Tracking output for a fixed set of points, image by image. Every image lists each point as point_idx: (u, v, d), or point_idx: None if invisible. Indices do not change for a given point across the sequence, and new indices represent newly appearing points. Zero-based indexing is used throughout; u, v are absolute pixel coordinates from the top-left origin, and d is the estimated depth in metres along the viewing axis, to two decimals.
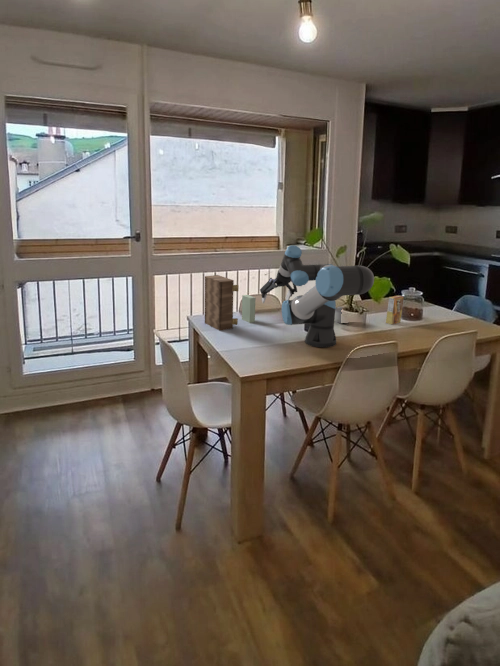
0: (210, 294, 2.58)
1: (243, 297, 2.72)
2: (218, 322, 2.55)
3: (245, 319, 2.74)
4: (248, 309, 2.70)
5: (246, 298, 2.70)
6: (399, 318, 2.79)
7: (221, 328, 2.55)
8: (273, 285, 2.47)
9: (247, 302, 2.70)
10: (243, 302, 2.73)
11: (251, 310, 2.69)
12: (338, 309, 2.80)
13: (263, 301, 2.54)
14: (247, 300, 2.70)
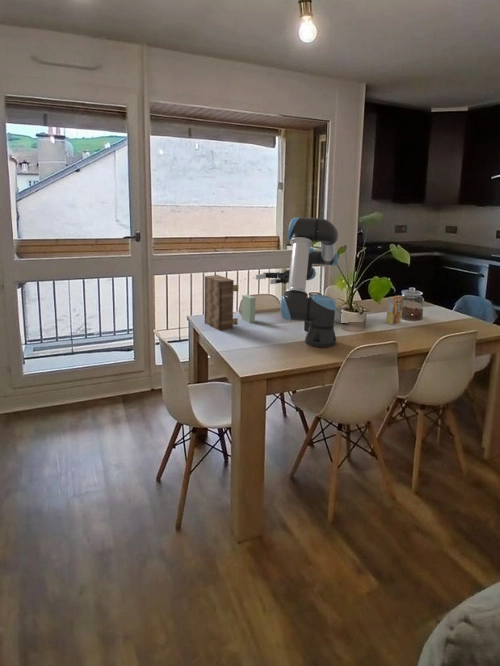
0: (210, 294, 2.58)
1: (243, 297, 2.72)
2: (218, 322, 2.55)
3: (245, 319, 2.74)
4: (248, 308, 2.70)
5: (246, 298, 2.70)
6: (399, 318, 2.79)
7: (221, 328, 2.55)
8: None
9: (247, 302, 2.70)
10: (243, 302, 2.73)
11: (251, 310, 2.69)
12: (338, 309, 2.80)
13: (257, 274, 2.79)
14: (247, 300, 2.70)
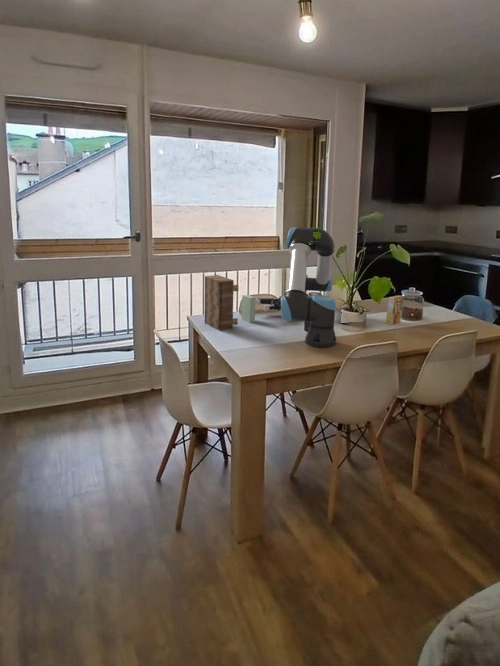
0: (210, 294, 2.58)
1: (243, 297, 2.72)
2: (218, 322, 2.55)
3: (245, 319, 2.74)
4: (248, 308, 2.70)
5: (246, 298, 2.70)
6: (399, 318, 2.79)
7: (221, 328, 2.55)
8: None
9: (247, 302, 2.70)
10: (243, 302, 2.73)
11: (251, 310, 2.69)
12: (338, 309, 2.80)
13: None
14: (247, 300, 2.70)
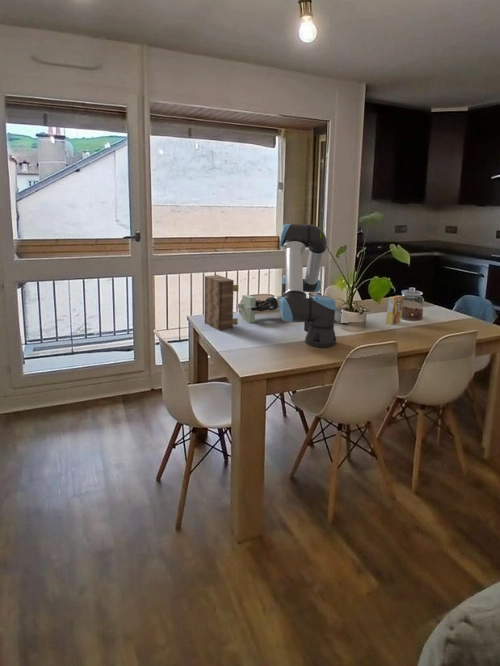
0: (210, 294, 2.58)
1: (243, 297, 2.72)
2: (218, 322, 2.55)
3: (245, 319, 2.74)
4: None
5: (246, 298, 2.70)
6: (399, 318, 2.79)
7: (221, 328, 2.55)
8: None
9: (247, 302, 2.70)
10: (243, 302, 2.73)
11: None
12: (338, 309, 2.80)
13: (238, 303, 2.74)
14: (247, 300, 2.70)
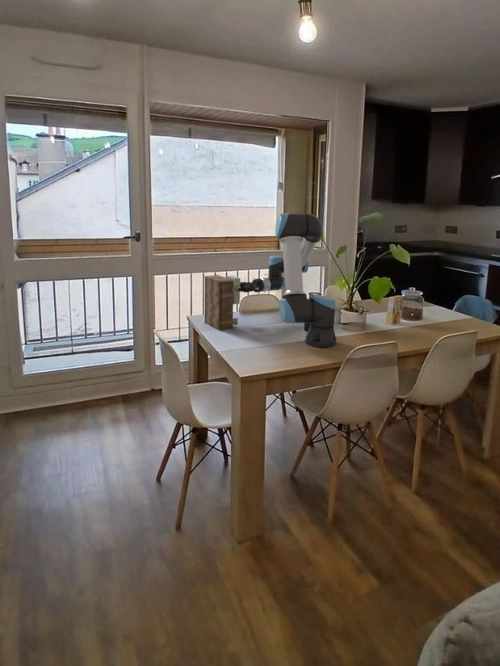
0: (210, 294, 2.58)
1: (228, 278, 2.63)
2: (218, 322, 2.55)
3: None
4: None
5: None
6: (399, 318, 2.79)
7: (221, 328, 2.55)
8: None
9: None
10: None
11: None
12: (338, 309, 2.80)
13: None
14: None
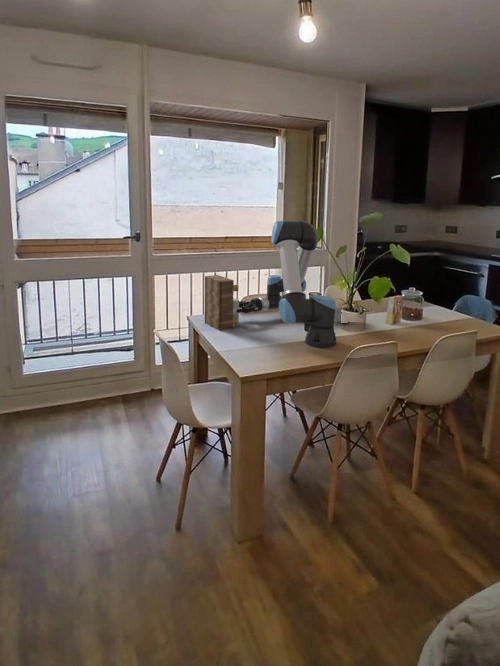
0: (210, 294, 2.58)
1: None
2: (218, 322, 2.55)
3: None
4: None
5: None
6: (399, 318, 2.79)
7: (221, 328, 2.55)
8: None
9: None
10: None
11: None
12: (338, 309, 2.80)
13: None
14: None
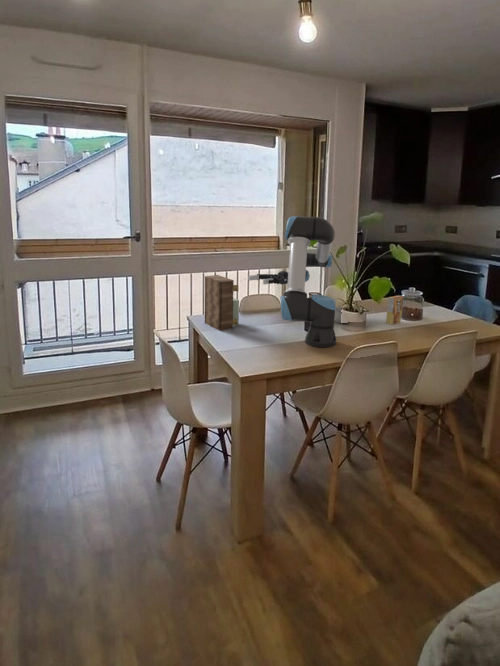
0: (210, 294, 2.58)
1: None
2: (218, 322, 2.55)
3: None
4: None
5: None
6: (399, 318, 2.79)
7: (221, 328, 2.55)
8: None
9: None
10: None
11: (234, 313, 2.62)
12: (338, 309, 2.80)
13: (250, 275, 2.76)
14: None
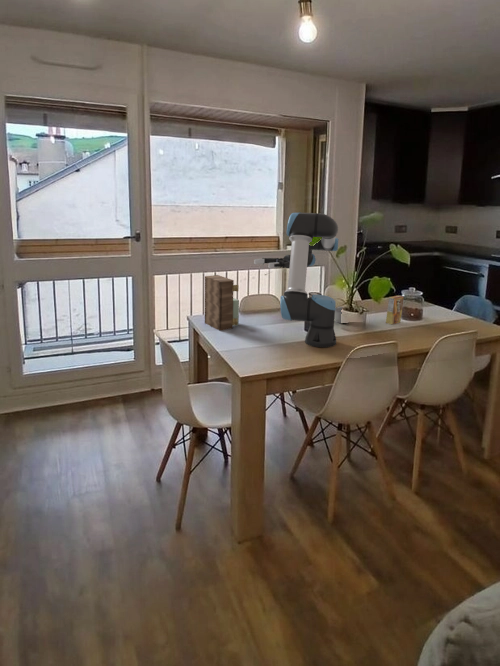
0: (210, 294, 2.58)
1: None
2: (218, 322, 2.55)
3: None
4: None
5: None
6: (399, 318, 2.79)
7: (221, 328, 2.55)
8: None
9: None
10: None
11: (234, 313, 2.62)
12: (338, 309, 2.80)
13: (256, 259, 2.74)
14: None
